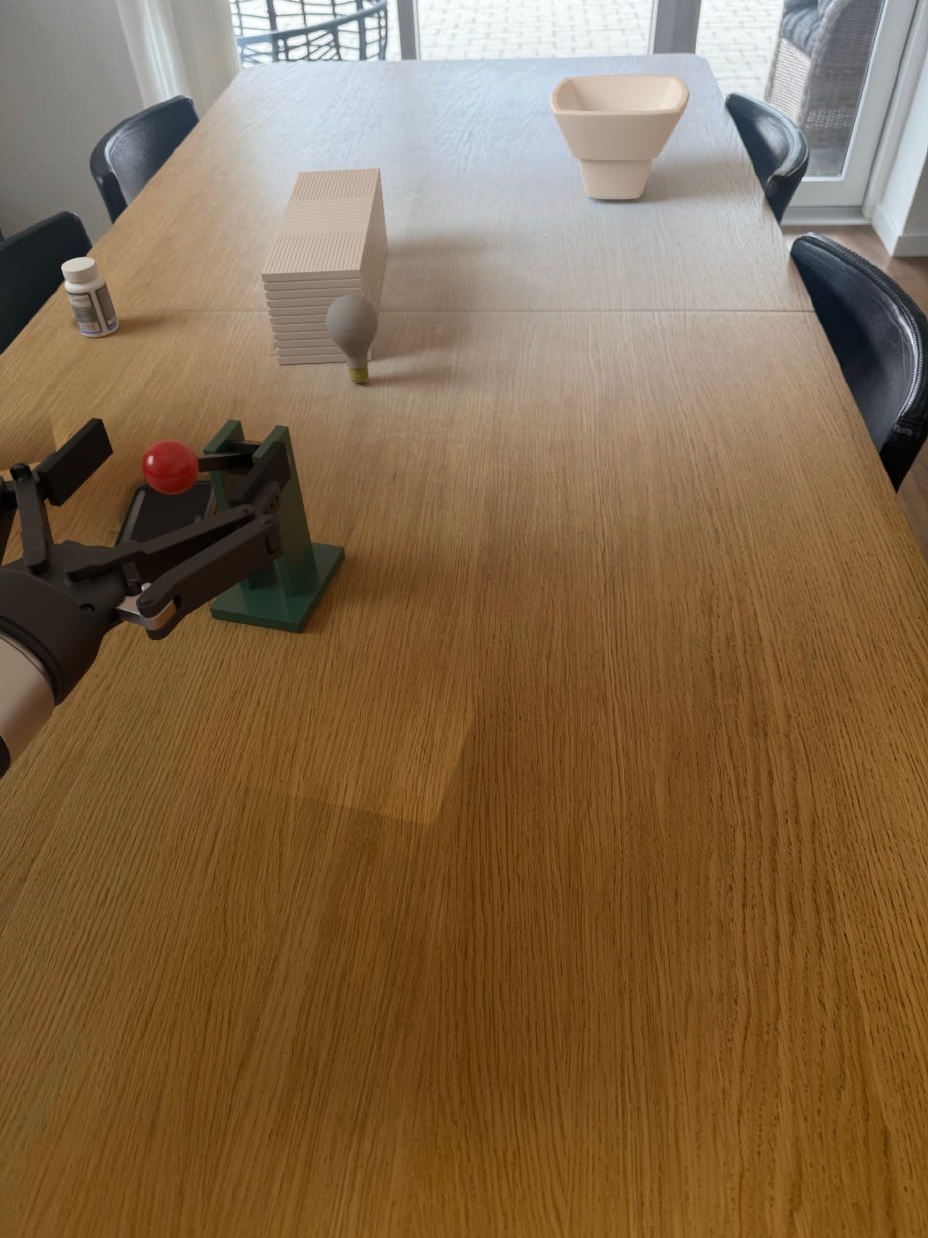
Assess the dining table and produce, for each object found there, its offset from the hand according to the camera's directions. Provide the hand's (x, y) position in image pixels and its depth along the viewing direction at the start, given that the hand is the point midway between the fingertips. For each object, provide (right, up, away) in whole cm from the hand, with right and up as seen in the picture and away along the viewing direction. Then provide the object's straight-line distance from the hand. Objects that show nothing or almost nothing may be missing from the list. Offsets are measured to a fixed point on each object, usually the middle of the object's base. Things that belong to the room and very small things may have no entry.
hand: (191, 446), depth 65 cm
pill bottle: (-27, +24, +55) cm, 66 cm away
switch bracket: (+3, -9, +17) cm, 20 cm away
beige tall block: (+2, +29, +58) cm, 64 cm away
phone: (-9, -4, +23) cm, 25 cm away
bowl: (+41, +52, +80) cm, 104 cm away
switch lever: (0, -2, +4) cm, 4 cm away
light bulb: (+7, +15, +42) cm, 45 cm away
